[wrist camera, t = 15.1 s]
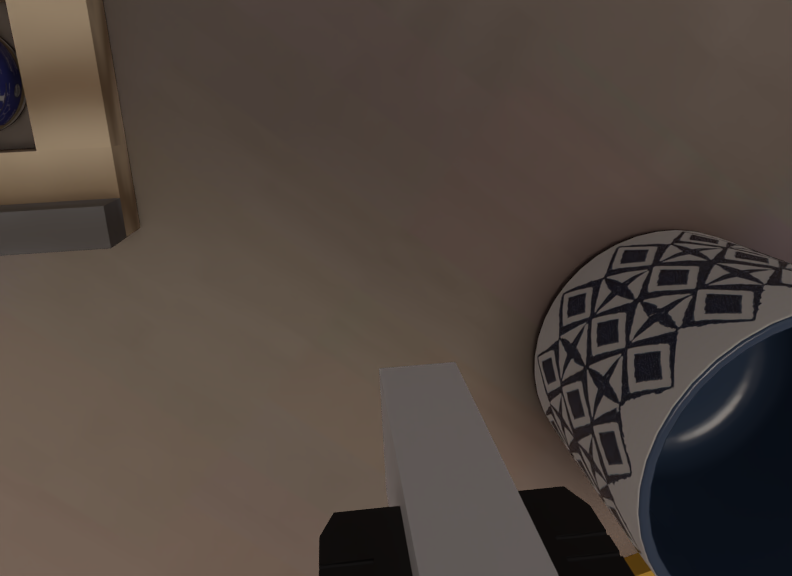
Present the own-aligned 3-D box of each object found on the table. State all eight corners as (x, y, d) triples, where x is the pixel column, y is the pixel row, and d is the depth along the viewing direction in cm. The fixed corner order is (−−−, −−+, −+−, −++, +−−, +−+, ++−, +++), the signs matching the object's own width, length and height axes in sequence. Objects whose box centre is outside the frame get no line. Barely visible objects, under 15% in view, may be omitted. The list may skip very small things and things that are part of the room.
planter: (560, 491, 43) (669, 677, 29) (504, 274, 38) (604, 375, 24) (784, 418, 43) (997, 569, 29) (756, 193, 38) (998, 248, 24)
